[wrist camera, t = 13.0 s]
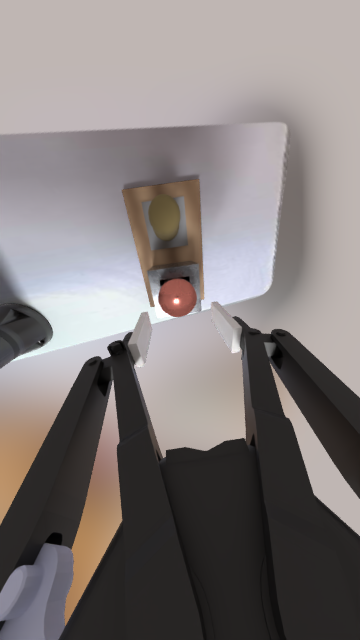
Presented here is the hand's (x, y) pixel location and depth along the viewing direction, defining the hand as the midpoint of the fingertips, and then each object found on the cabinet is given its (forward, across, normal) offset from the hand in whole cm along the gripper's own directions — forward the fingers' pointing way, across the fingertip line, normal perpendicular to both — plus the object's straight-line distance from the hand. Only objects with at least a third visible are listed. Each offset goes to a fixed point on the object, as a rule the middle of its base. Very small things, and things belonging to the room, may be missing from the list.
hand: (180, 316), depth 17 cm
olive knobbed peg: (+21, 0, +13) cm, 25 cm away
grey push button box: (+21, 0, 0) cm, 21 cm away
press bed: (+23, 0, +7) cm, 24 cm away
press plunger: (+16, 0, 0) cm, 16 cm away
